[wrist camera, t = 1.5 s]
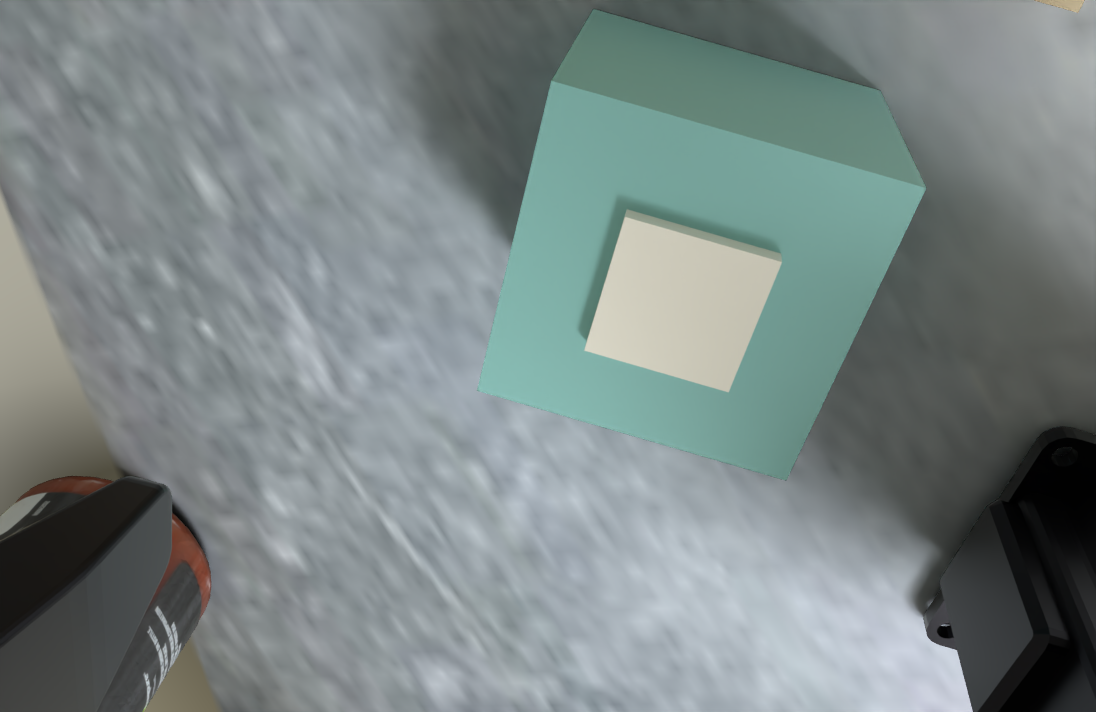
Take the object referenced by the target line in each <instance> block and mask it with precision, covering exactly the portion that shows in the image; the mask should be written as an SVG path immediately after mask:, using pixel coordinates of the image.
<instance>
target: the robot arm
mask: <svg viewBox="0 0 1096 712" xmlns="http://www.w3.org/2000/svg"><path fill="white" fill-rule="evenodd" d="M1063 447H1071V450H1070V451H1069V452H1068V453H1066V454H1063V455H1060V456H1059V455H1053V453H1054V452H1055V451H1056V450H1057V449H1060V448H1063ZM171 550H172V495H171V491H170V489H169V488H168V487H167V486H166V485H164V484H161V483H157V482H153V481H149V480H146V479H142V478H138V477H134V476H127V477H123V478H120V479H118V480H116V481H114V482H112V483H110V484H108V485H106V486H104V487H102V488H100V489H98V490H96V491H95V492H93V493H91V494H89V495H87V496H85V497H83V498H81V499H79V500H77V501H75V502H73V503H72V504H70V505H68V506H66V507H64V508H62V509H60V510H58V511H56V512H54V513H52V514H50V515H48V516H47V517H45V518H43V519H41V520H39V521H37V522H35V523H33V524H31V525H29V526H27V527H25V528H23V529H22V530H20V531H18V532H16V533H14V534H12V535H10V536H8V537H6V538H4V539H2V540H0V712H97V710H98V708H99V706H100V704H101V702H102V700H103V698H104V696H105V694H106V692H107V690H108V688H109V686H110V684H111V682H112V680H113V678H114V676H115V674H116V672H117V670H118V668H119V665H120V663H121V661H122V659H123V657H124V655H125V653H126V651H127V649H128V647H129V645H130V643H131V641H132V639H133V637H134V635H135V633H136V631H137V628H138V626H139V624H140V622H141V620H142V618H143V616H144V614H145V612H146V610H147V608H148V606H149V604H150V602H151V600H152V598H153V596H154V594H155V592H156V589H157V587H158V585H159V583H160V581H161V579H162V577H163V575H164V573H165V571H166V568H167V566H168V563H169V559H170V556H171ZM940 586H941V589H940V591H939V592H938V594H937V596H936V597H935V599H934V600H933V602H932V603H931V605H930V606H929V608H928V610H927V611H926V613H925V615H924V618H923V619H924V624H925V628H926V632H927V636H928V638H929V639H930V640H931V641H932V642H934V643H936V644H939V645H942V646H945V647H949V648H952V649H955V650H957V652H958V655H959V659H960V663H961V667H962V671H963V675H964V679H965V682H966V686H967V690H968V694H969V698H970V702H971V706H972V710H973V712H1096V435H1095V434H1092V433H1088V432H1085V431H1081V430H1078V429H1074V428H1070V427H1057V428H1052V429H1050V430H1048V431H1046V432H1044V433H1042V434H1041V436H1040V437H1039V438H1038V439H1037V440H1036V441H1035V443H1034V445H1033V446H1032V448H1031V449H1030V451H1029V452H1028V454H1027V455H1026V457H1025V459H1024V460H1023V462H1022V463H1021V465H1020V466H1019V468H1018V469H1017V471H1016V473H1015V474H1014V476H1013V477H1012V479H1011V480H1010V482H1009V483H1008V485H1007V487H1006V488H1005V490H1004V491H1003V493H1002V494H1001V496H1000V497H999V499H998V500H996V501H994V502H993V503H991V504H990V505H988V506H987V507H986V508H985V510H984V511H983V513H982V514H981V516H980V517H979V519H978V521H977V522H976V524H975V525H974V527H973V528H972V530H971V532H970V533H969V535H968V536H967V538H966V539H965V541H964V542H963V544H962V546H961V547H960V549H959V550H958V552H957V553H956V555H955V557H954V558H953V560H952V561H951V563H950V564H949V566H948V568H947V569H946V571H945V572H944V574H943V575H942V577H941V579H940ZM946 623H950V626H941V625H942V624H946Z"/></svg>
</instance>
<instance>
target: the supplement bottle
mask: <svg viewBox="0 0 1096 712" xmlns="http://www.w3.org/2000/svg"><path fill="white" fill-rule="evenodd" d="M112 482H114V481H111V480H106V479H101V478H96V477H83V476H68V477H63V478H57V479H52V480H49V481H46V482H44V483H42V484H39V485H37V486H35V487H33V488H31V489H30V490H29V491H27V492H26V493H25V494H23V495H22V496H21V497H20V498H19V499H18V500H17V501H16V503H15V504H13V505H12V506H11V507H10V508H8V509H7V510H6V511H5V512H4V513H3V514H2V515H1V516H0V540H2V539H4V538H6V537H8V536H10V535H12V534H14V533H16V532H18V531H20V530H22V529H23V528H25V527H27V526H29V525H31V524H33V523H35V522H37V521H39V520H41V519H43V518H45V517H47V516H48V515H50V514H52V513H54V512H56V511H58V510H60V509H62V508H64V507H66V506H68V505H70V504H72V503H73V502H75V501H77V500H79V499H81V498H83V497H85V496H87V495H89V494H91V493H93V492H95V491H96V490H98V489H100V488H102V487H104V486H106V485H108V484H110V483H112ZM210 592H211V572H210V569H209V565H208V561H207V559H206V556H205V554H204V552H203V550H202V548H201V547H200V545H199V544H198V542H197V540H196V539H195V538H194V536H193V535H192V533H191V532H190V531H189V529H188V528H187V527H186V526H185V525H184V524H183V523H182V521H180V520H179V519H178V517H176V516H175V515H174V514H173V513H172V550H171V556H170V559H169V563H168V566H167V568H166V571H165V573H164V575H163V577H162V579H161V581H160V583H159V585H158V587H157V589H156V592H155V594H154V596H153V598H152V600H151V602H150V604H149V606H148V608H147V610H146V612H145V614H144V616H143V618H142V620H141V622H140V624H139V626H138V628H137V631H136V633H135V635H134V637H133V639H132V641H131V643H130V645H129V647H128V649H127V651H126V653H125V655H124V657H123V659H122V661H121V663H120V665H119V668H118V670H117V672H116V674H115V676H114V678H113V680H112V682H111V684H110V686H109V688H108V690H107V692H106V694H105V696H104V698H103V700H102V702H101V704H100V706H99V708H98V710H97V712H144V710H145V708H146V707H147V705H148V704H149V702H150V700H151V699H152V697H153V696H154V694H155V693H156V691H157V689H158V688H159V686H160V684H161V682H162V681H163V680H164V678H165V677H166V675H167V673H168V671H169V670H170V668H171V667H172V665H173V663H174V662H175V660H176V658H177V657H178V655H179V653H180V652H181V650H182V649H183V647H184V646H185V643H187V641H188V639H189V638H190V636H191V634H192V632H193V631H194V630H195V628H196V626H197V624H198V621H199V620H200V618H201V616H202V615H203V613H204V611H205V609H206V607H207V604H208V601H209V598H210Z"/></svg>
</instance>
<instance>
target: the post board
mask: <svg viewBox="0 0 1096 712" xmlns="http://www.w3.org/2000/svg"><path fill="white" fill-rule="evenodd" d="M1035 1H1038V2H1042V3H1045V4H1049V5H1052V6H1056V7H1059V8H1063V9H1066V10H1070V11H1073V12H1077V13H1078V12H1079V10H1080V8H1081V6H1082V4H1083V3H1084V1H1085V0H1035Z"/></svg>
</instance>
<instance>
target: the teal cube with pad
mask: <svg viewBox="0 0 1096 712" xmlns="http://www.w3.org/2000/svg"><path fill="white" fill-rule="evenodd" d="M925 190H926V186H925V184H924V182H923V180H922V178H921V175H920V173H919V171H918V169H917V167H916V165H915V163H914V161H913V159H912V156H911V154H910V152H909V150H908V148H907V146H906V144H905V142H904V140H903V137H902V135H901V133H900V131H899V129H898V127H897V125H896V123H895V121H894V118H893V116H892V114H891V112H890V110H889V108H888V106H887V104H886V102H885V99H884V97H883V95H882V93H881V91H880V90H877V89H873V88H870V87H866V86H862V85H859V84H855V83H852V82H848V81H845V80H841V79H838V78H834V77H831V76H827V75H824V74H820V73H817V72H813V71H810V70H806V69H803V68H799V67H796V66H792V65H789V64H785V63H782V62H778V61H775V60H771V59H768V58H764V57H761V56H757V55H754V54H750V53H747V52H743V51H740V50H736V49H733V48H729V47H726V46H722V45H719V44H715V43H712V42H708V41H705V40H701V39H698V38H694V37H691V36H687V35H684V34H680V33H677V32H673V31H670V30H666V29H663V28H659V27H656V26H652V25H649V24H645V23H642V22H638V21H635V20H631V19H627V18H624V17H620V16H617V15H613V14H610V13H606V12H603V11H599V10H596V9H593V10H592V12H591V14H590V16H589V17H588V19H587V21H586V22H585V24H584V26H583V27H582V29H581V31H580V33H579V34H578V36H577V38H576V39H575V41H574V43H573V45H572V46H571V48H570V50H569V51H568V53H567V55H566V56H565V58H564V60H563V62H562V63H561V65H560V67H559V68H558V70H557V72H556V74H555V75H554V77H553V79H552V80H551V84H550V88H549V92H548V97H547V101H546V105H545V109H544V113H543V117H542V122H541V126H540V130H539V134H538V138H537V143H536V147H535V151H534V155H533V159H532V163H531V168H530V172H529V176H528V180H527V184H526V188H525V193H524V197H523V201H522V205H521V209H520V214H519V218H518V222H517V226H516V230H515V234H514V239H513V243H512V247H511V251H510V255H509V259H508V264H507V268H506V272H505V276H504V280H503V285H502V289H501V293H500V297H499V301H498V305H497V310H496V314H495V318H494V322H493V326H492V330H491V335H490V339H489V343H488V347H487V351H486V356H485V360H484V364H483V368H482V372H481V376H480V381H479V385H478V389H477V391H480V392H483V393H487V394H490V395H494V396H497V397H500V398H504V399H507V400H511V401H514V402H518V403H521V404H524V405H528V406H531V407H535V408H538V409H542V410H545V411H549V412H552V413H555V414H559V415H562V416H566V417H569V418H573V419H576V420H579V421H583V422H586V423H590V424H593V425H597V426H600V427H603V428H607V429H610V430H614V431H617V432H621V433H624V434H628V435H631V436H634V437H638V438H641V439H645V440H648V441H652V442H655V443H658V444H662V445H665V446H669V447H672V448H676V449H679V450H682V451H686V452H689V453H693V454H696V455H700V456H703V457H707V458H710V459H713V460H717V461H720V462H724V463H727V464H731V465H734V466H737V467H741V468H744V469H748V470H751V471H755V472H758V473H761V474H765V475H768V476H772V477H775V478H779V479H782V480H787V478H788V476H789V474H790V472H791V470H792V468H793V466H794V463H795V461H796V459H797V457H798V455H799V453H800V451H801V449H802V447H803V445H804V443H805V441H806V438H807V436H808V434H809V432H810V430H811V428H812V426H813V424H814V422H815V420H816V418H817V416H818V413H819V411H820V409H821V407H822V405H823V403H824V401H825V399H826V397H827V395H828V393H829V391H830V388H831V386H832V384H833V382H834V380H835V378H836V376H837V374H838V372H839V370H840V368H841V365H842V363H843V361H844V359H845V357H846V355H847V353H848V351H849V349H850V347H851V345H852V343H853V340H854V338H855V336H856V334H857V332H858V330H859V328H860V326H861V324H862V322H863V320H864V318H865V315H866V313H867V311H868V309H869V307H870V305H871V303H872V301H873V299H874V297H875V295H876V293H877V290H878V288H879V286H880V284H881V282H882V280H883V278H884V276H885V274H886V272H887V270H888V268H889V265H890V263H891V261H892V259H893V257H894V255H895V253H896V251H897V249H898V247H899V245H900V242H901V240H902V238H903V236H904V234H905V232H906V230H907V228H908V226H909V224H910V222H911V220H912V217H913V215H914V213H915V211H916V209H917V207H918V205H919V203H920V201H921V199H922V197H923V195H924V192H925Z"/></svg>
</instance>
